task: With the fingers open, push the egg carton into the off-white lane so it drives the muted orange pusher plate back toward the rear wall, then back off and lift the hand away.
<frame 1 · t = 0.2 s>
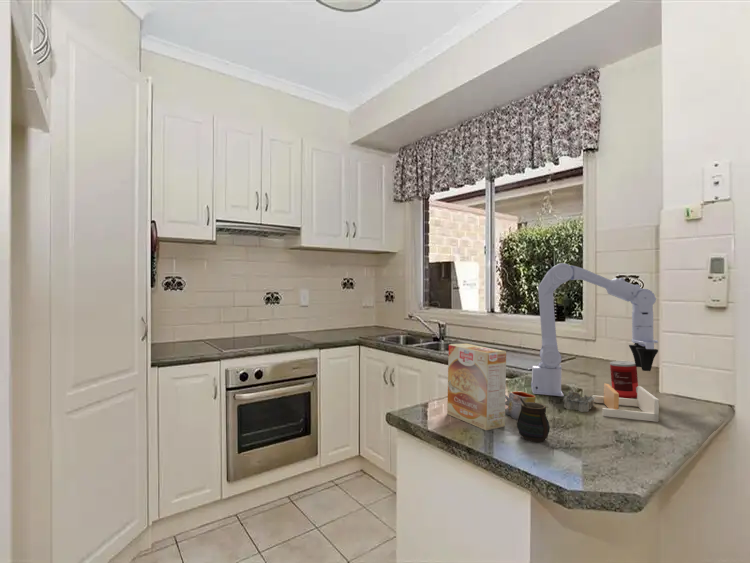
hand: (643, 368, 133), 11 cm above the counter, tool pointing down, fingers open, 6 cm apart
egg carton: (579, 408, 126), on the counter
canned food: (625, 396, 139), on the counter, touching gripper
pusher plate: (610, 398, 124), point 3 cm above the counter, slide at 0.0 cm
coffeecake box: (474, 421, 111), on the counter
lane: (622, 410, 123), on the counter
mate gourd: (532, 439, 99), on the counter
mug: (513, 416, 116), on the counter
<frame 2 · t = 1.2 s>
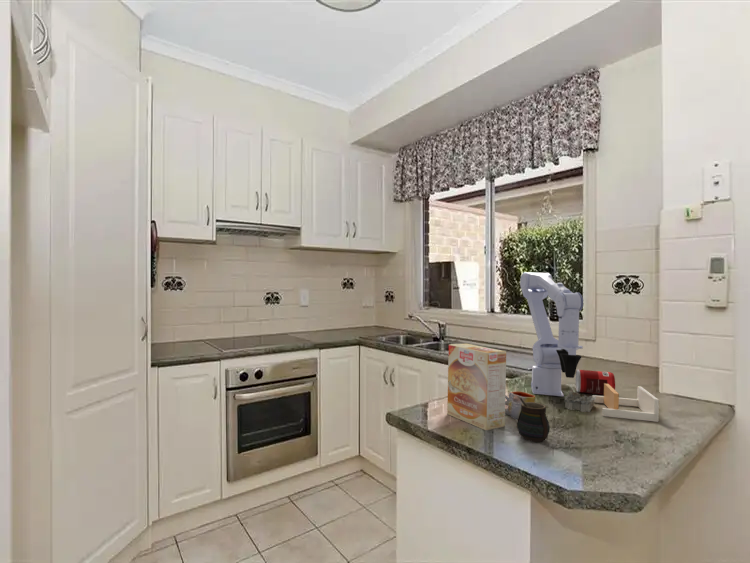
hand: (567, 374, 130), 9 cm above the counter, tool pointing down, fingers open, 7 cm apart
canned food: (613, 383, 141), point 4 cm above the counter
everything else where it was.
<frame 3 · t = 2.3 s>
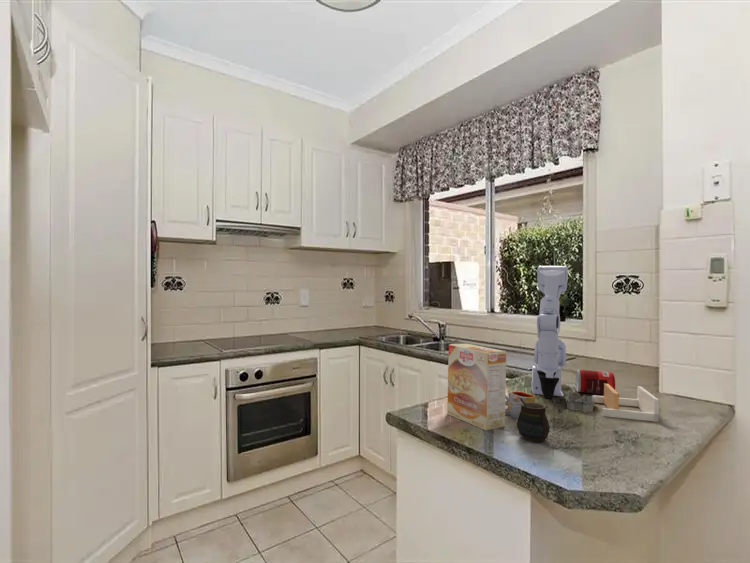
hand: (546, 396, 129), 2 cm above the counter, tool pointing down, fingers open, 7 cm apart
nothing on the counter moved.
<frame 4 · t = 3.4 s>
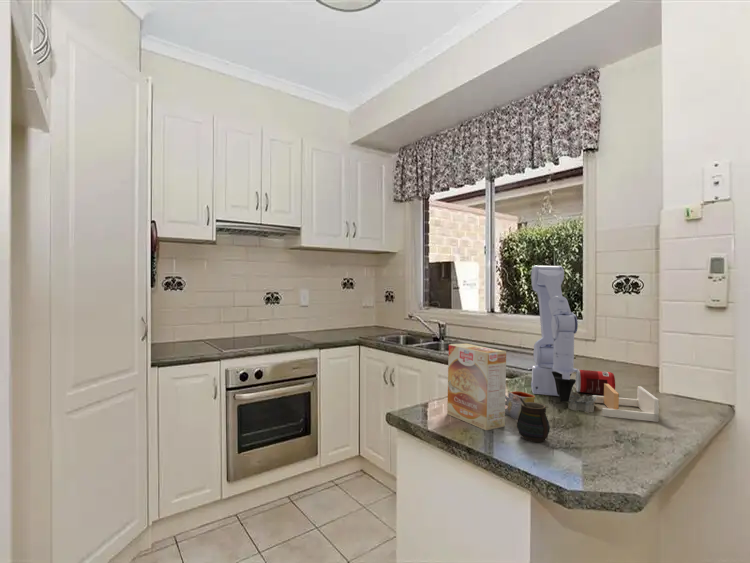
hand: (562, 398, 128), 2 cm above the counter, tool pointing down, fingers open, 7 cm apart
egg carton: (581, 408, 126), on the counter, touching gripper
everything else where it was.
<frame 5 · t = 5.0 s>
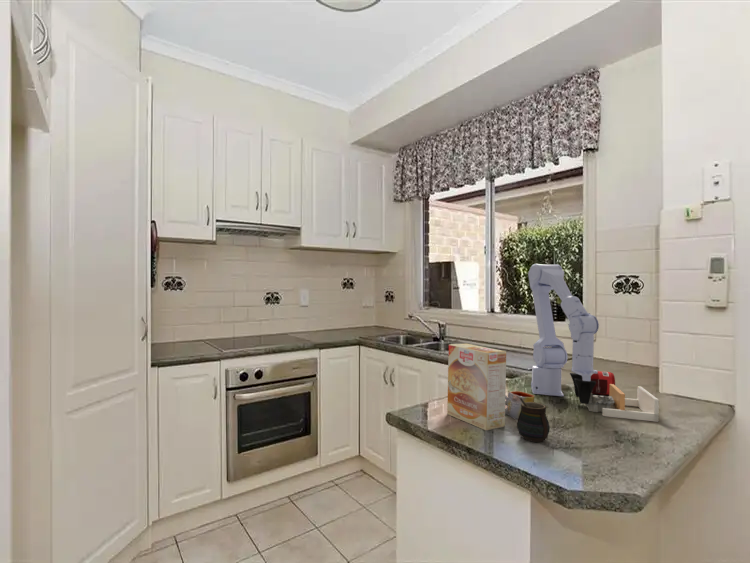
hand: (581, 400, 126), 2 cm above the counter, tool pointing down
egg carton: (599, 409, 125), on the counter, touching gripper, pusher plate
pusher plate: (616, 399, 123), point 3 cm above the counter, slide at 1.5 cm, touching egg carton
everything else where it was.
when the fingers open (2 cm above the counter, at t = 5.7 s): egg carton stays where it is, on the counter.
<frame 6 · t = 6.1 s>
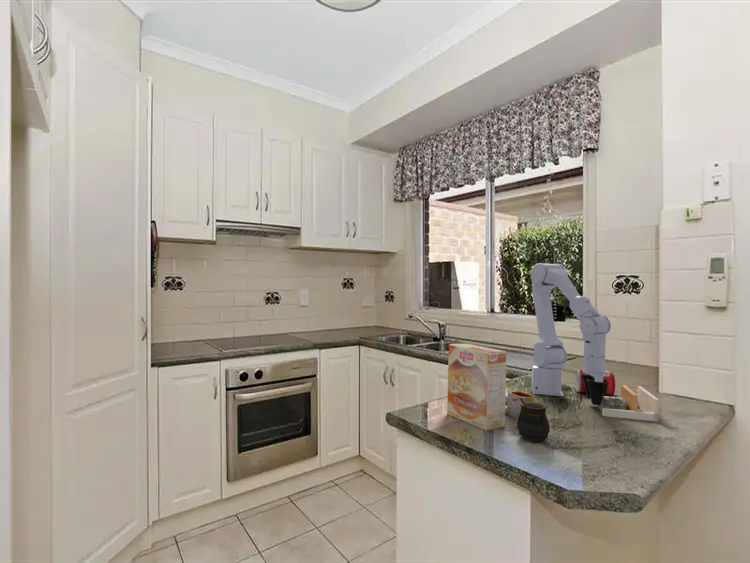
hand: (593, 401, 125), 2 cm above the counter, tool pointing down, fingers open, 7 cm apart
egg carton: (611, 411, 124), on the counter
pusher plate: (628, 400, 122), point 3 cm above the counter, slide at 4.7 cm
everything else where it was.
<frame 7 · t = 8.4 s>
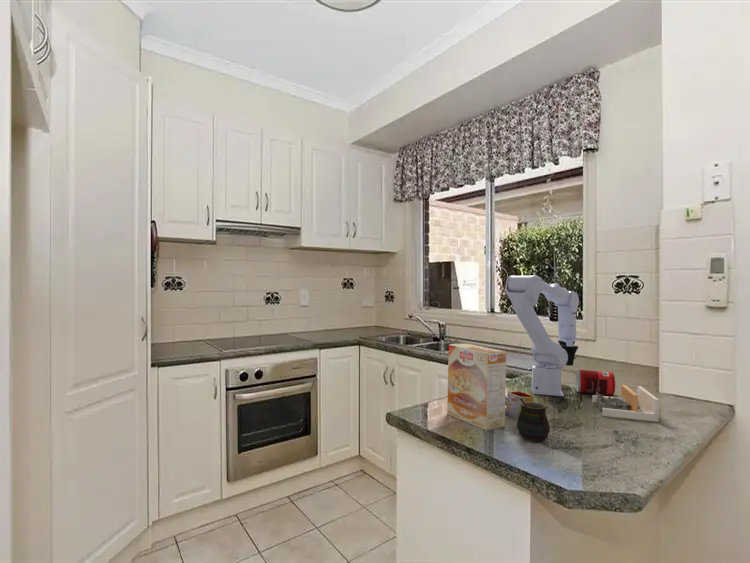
hand: (568, 362, 148), 9 cm above the counter, tool pointing down, fingers open, 7 cm apart
nothing on the counter moved.
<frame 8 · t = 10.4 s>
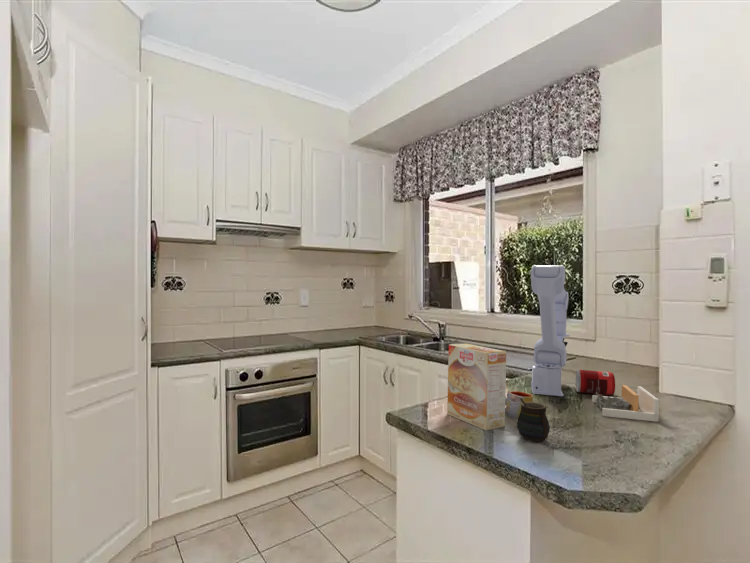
hand: (557, 358, 156), 9 cm above the counter, tool pointing down, fingers open, 7 cm apart
nothing on the counter moved.
at the end: egg carton 0.6 cm from the target spot, on the counter; pusher plate slide at 4.9 cm; egg carton tilted 0° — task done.
